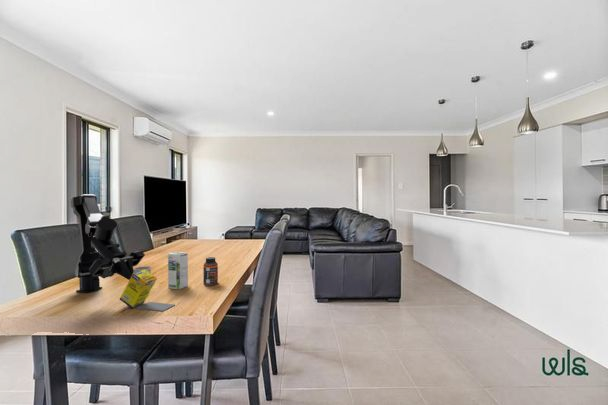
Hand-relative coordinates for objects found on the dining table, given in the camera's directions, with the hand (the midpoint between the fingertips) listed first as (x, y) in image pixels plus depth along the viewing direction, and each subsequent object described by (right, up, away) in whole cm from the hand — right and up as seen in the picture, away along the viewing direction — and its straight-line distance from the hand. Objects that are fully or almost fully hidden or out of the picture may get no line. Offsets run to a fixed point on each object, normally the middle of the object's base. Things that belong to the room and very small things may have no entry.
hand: (133, 280), depth 109 cm
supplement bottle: (+19, -9, +27) cm, 34 cm away
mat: (+8, -9, 0) cm, 12 cm away
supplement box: (-1, -8, +1) cm, 8 cm away
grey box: (-13, -9, +30) cm, 34 cm away
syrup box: (+6, -9, +23) cm, 25 cm away
